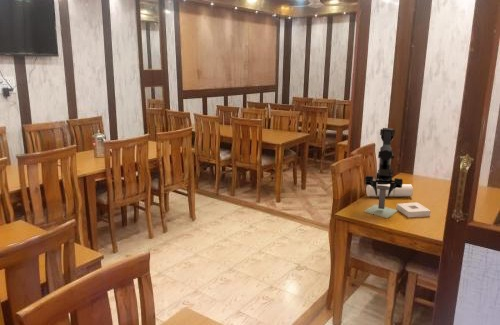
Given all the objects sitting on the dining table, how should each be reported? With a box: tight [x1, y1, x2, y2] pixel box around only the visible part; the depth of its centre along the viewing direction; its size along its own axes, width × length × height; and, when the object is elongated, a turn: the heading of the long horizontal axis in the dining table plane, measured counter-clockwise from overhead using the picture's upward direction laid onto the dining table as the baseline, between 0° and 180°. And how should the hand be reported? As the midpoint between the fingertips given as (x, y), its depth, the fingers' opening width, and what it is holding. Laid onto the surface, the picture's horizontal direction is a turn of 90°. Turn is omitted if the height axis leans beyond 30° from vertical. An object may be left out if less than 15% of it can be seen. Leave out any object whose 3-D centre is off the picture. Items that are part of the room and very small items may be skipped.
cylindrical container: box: [365, 183, 414, 197], centre depth 228 cm, size 7×7×25 cm
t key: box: [377, 185, 389, 209], centre depth 204 cm, size 3×6×12 cm, turn 71°
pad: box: [363, 204, 399, 219], centre depth 206 cm, size 13×13×1 cm
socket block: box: [395, 202, 431, 219], centre depth 204 cm, size 12×12×3 cm
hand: (382, 195), depth 203 cm, fingers closed on t key, 5 cm apart
